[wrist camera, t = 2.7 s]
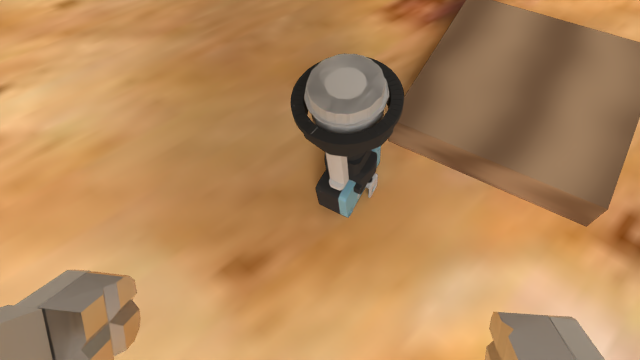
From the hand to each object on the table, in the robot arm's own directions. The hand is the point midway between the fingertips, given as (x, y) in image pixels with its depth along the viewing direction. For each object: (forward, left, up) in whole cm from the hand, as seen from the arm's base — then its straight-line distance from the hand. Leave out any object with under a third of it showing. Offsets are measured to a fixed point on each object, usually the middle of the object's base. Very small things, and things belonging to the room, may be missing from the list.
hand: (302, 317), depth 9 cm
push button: (-5, +11, -15) cm, 19 cm away
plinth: (+2, +21, -15) cm, 25 cm away
